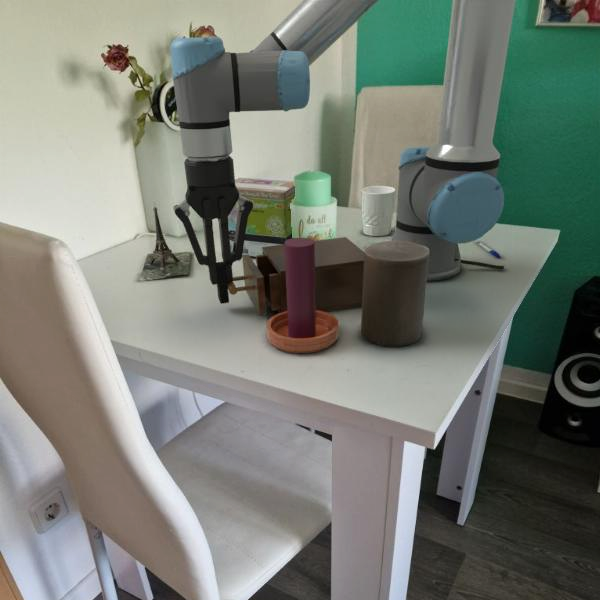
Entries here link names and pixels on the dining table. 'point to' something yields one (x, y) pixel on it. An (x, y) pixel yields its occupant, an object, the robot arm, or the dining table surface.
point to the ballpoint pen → (490, 250)
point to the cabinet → (327, 273)
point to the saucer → (324, 338)
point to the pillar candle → (394, 292)
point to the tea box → (264, 213)
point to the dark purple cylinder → (300, 287)
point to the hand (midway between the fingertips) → (223, 300)
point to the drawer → (259, 283)
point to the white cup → (377, 210)
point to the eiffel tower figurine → (164, 259)
